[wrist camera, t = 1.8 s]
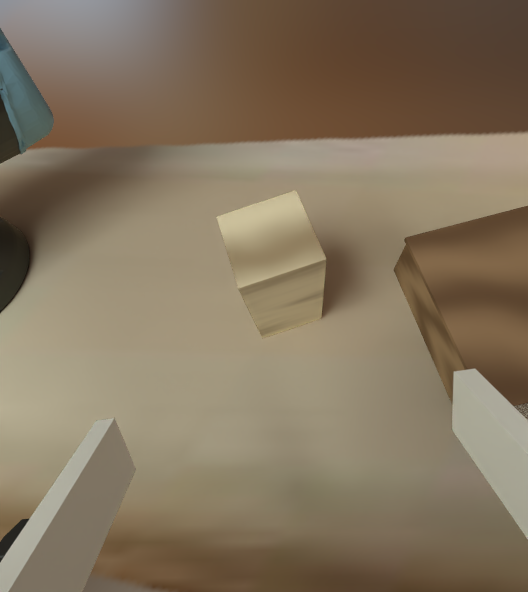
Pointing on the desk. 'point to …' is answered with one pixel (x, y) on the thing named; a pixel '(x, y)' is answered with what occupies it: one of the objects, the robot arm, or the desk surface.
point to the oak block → (276, 262)
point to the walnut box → (473, 298)
